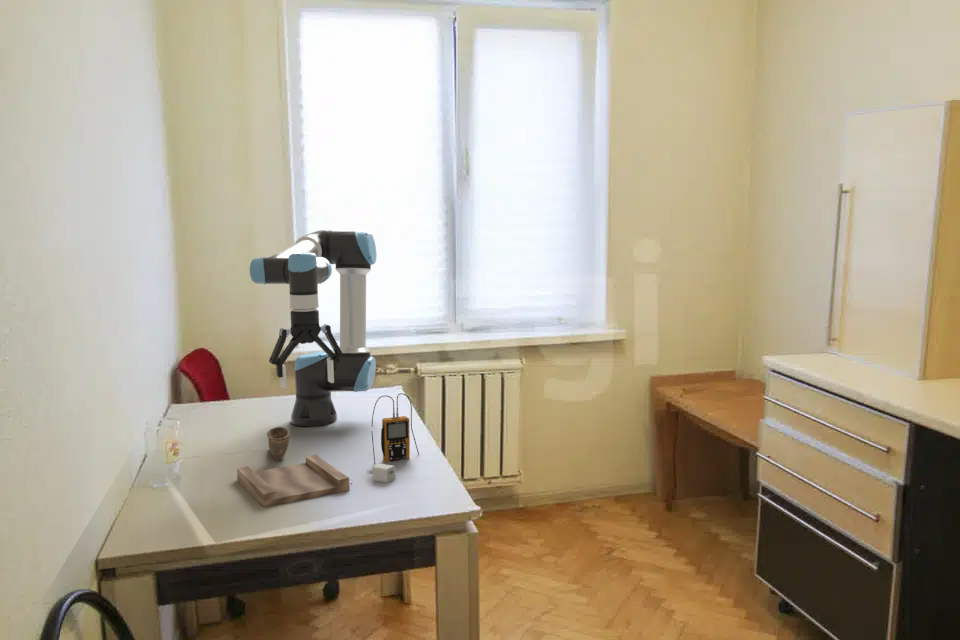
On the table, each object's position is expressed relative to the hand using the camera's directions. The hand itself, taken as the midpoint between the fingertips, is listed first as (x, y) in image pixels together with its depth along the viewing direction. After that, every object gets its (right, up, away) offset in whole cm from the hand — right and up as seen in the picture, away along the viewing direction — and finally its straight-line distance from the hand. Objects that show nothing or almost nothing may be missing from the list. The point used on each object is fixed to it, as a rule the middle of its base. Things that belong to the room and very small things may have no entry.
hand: (307, 385), depth 212 cm
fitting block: (-1, -25, -12) cm, 28 cm away
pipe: (-12, -22, +12) cm, 28 cm away
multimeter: (+25, -23, +4) cm, 35 cm away
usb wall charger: (+21, -25, -8) cm, 34 cm away
